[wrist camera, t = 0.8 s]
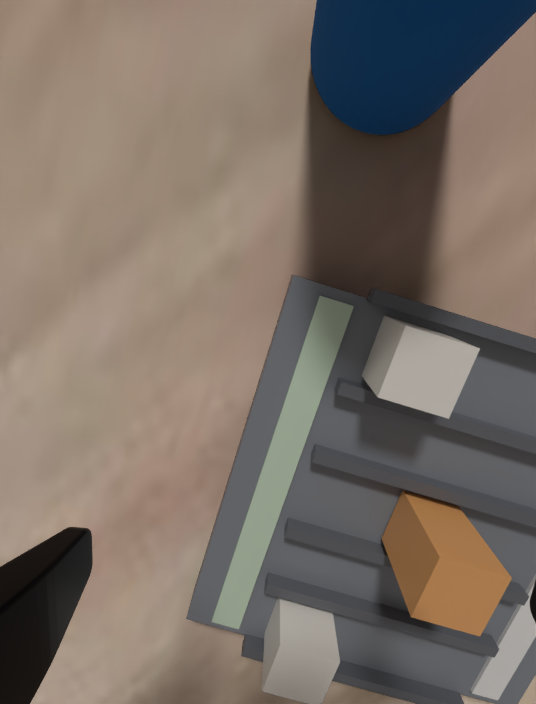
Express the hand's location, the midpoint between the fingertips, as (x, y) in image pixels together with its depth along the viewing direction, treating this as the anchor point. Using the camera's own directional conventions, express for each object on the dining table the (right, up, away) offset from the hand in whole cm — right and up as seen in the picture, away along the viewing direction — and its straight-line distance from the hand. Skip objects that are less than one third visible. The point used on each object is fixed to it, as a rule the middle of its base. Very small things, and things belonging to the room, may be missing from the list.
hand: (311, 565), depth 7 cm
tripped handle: (+7, -5, +12) cm, 14 cm away
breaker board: (+7, -4, +14) cm, 16 cm away
